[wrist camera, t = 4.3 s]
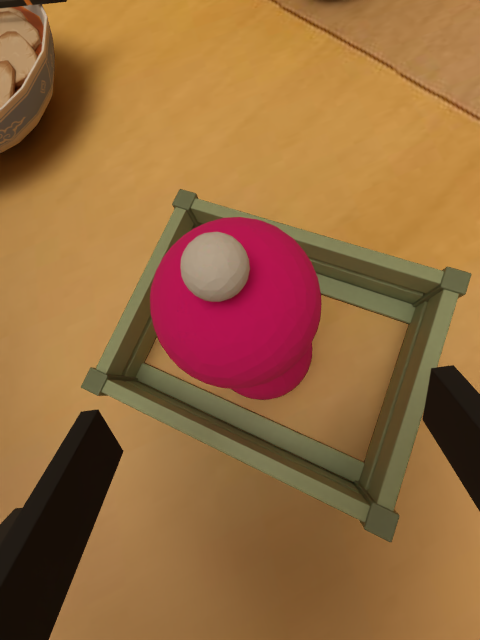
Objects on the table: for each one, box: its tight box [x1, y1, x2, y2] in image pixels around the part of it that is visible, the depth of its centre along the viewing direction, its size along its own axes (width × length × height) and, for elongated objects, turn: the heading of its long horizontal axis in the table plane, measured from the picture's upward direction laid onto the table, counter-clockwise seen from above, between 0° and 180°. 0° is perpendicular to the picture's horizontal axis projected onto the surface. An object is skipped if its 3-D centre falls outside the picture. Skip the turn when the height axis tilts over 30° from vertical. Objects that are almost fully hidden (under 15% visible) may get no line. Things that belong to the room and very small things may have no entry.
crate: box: [81, 189, 471, 542], centre depth 24 cm, size 23×18×5 cm
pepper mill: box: [150, 217, 321, 400], centre depth 17 cm, size 7×7×20 cm
